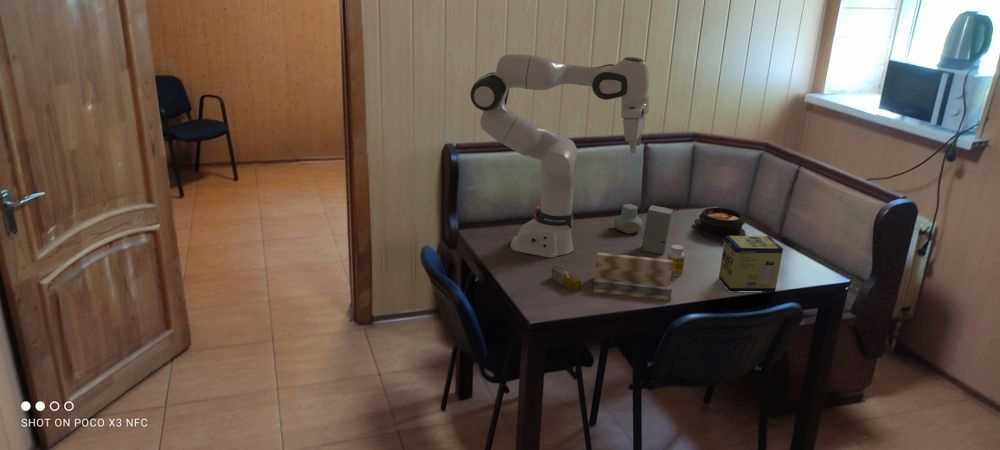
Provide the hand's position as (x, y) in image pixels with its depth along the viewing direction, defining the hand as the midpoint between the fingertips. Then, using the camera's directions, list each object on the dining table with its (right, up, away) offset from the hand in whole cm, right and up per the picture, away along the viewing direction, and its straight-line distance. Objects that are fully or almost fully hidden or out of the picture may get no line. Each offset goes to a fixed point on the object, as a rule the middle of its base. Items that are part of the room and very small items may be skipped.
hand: (635, 148), depth 242 cm
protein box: (+35, -45, -5) cm, 58 cm away
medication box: (-24, -45, -9) cm, 52 cm away
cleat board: (-3, -46, -11) cm, 47 cm away
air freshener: (+4, -28, +37) cm, 47 cm away
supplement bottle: (+13, -42, +2) cm, 44 cm away
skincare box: (+11, -35, +20) cm, 42 cm away
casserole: (+40, -29, +38) cm, 62 cm away
